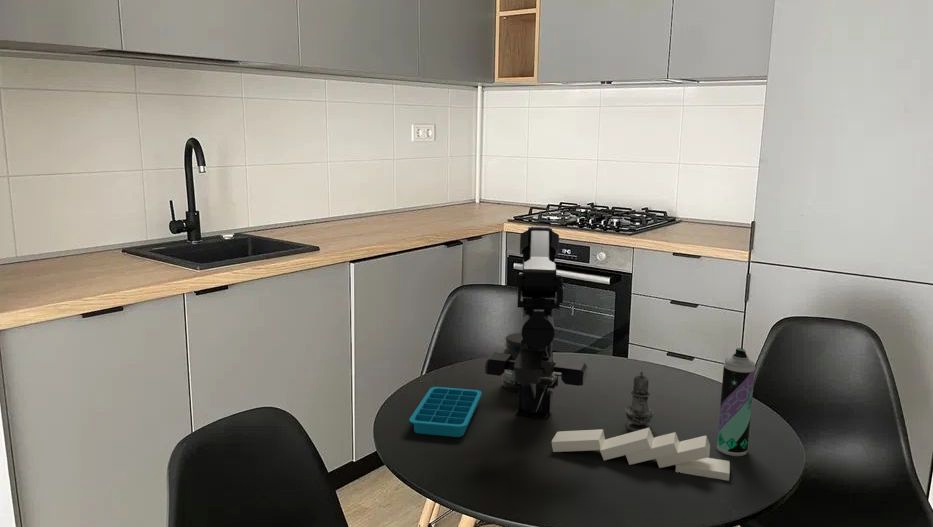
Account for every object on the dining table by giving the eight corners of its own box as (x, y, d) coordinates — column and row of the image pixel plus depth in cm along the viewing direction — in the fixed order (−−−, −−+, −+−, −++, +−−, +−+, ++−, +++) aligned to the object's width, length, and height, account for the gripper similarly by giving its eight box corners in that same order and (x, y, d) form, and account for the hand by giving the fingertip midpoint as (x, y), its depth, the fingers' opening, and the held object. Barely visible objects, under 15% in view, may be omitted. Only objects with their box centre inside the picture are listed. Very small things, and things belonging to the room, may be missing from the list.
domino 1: (551, 441, 135) (598, 439, 132) (557, 431, 140) (603, 429, 137) (553, 451, 135) (600, 450, 132) (559, 441, 140) (604, 439, 137)
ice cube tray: (407, 435, 142) (407, 421, 142) (431, 399, 162) (431, 386, 161) (465, 441, 140) (465, 427, 140) (482, 403, 160) (482, 390, 159)
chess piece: (653, 434, 144) (657, 377, 142) (623, 432, 145) (627, 375, 143) (652, 423, 149) (656, 368, 147) (623, 420, 150) (626, 365, 148)
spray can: (712, 444, 140) (720, 345, 136) (739, 443, 140) (748, 344, 137) (724, 456, 134) (733, 354, 131) (752, 455, 135) (762, 353, 131)
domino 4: (655, 457, 129) (705, 446, 126) (658, 446, 134) (706, 435, 130) (659, 468, 129) (709, 457, 126) (662, 456, 134) (710, 445, 130)
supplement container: (551, 382, 173) (553, 334, 170) (541, 397, 163) (542, 346, 161) (508, 377, 176) (510, 329, 174) (496, 391, 166) (497, 341, 164)
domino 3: (625, 454, 131) (673, 443, 127) (628, 443, 135) (675, 432, 132) (629, 464, 131) (677, 453, 127) (632, 453, 135) (679, 442, 132)
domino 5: (675, 464, 128) (729, 473, 125) (677, 453, 133) (729, 461, 130) (675, 475, 128) (728, 484, 125) (677, 463, 133) (728, 471, 130)
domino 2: (599, 450, 132) (646, 438, 129) (604, 439, 137) (649, 427, 133) (603, 460, 132) (650, 448, 129) (608, 449, 137) (653, 437, 133)
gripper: (477, 339, 131) (475, 420, 133) (579, 350, 125) (575, 434, 128) (494, 323, 141) (492, 399, 144) (589, 333, 135) (585, 411, 138)
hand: (534, 411), depth 138 cm, fingers closed
